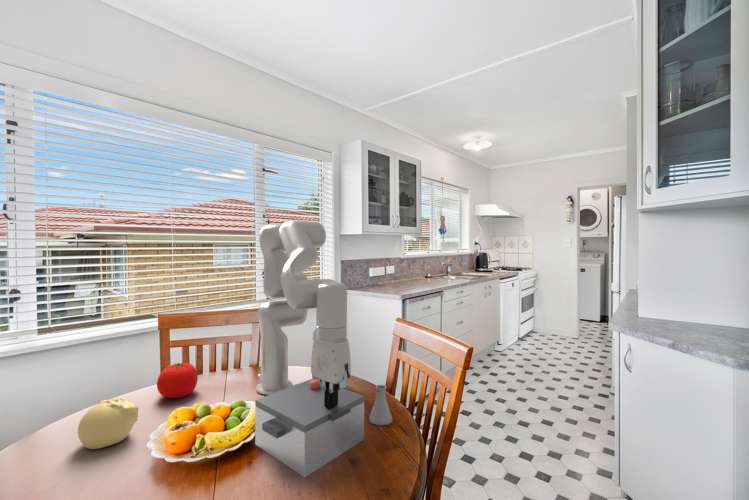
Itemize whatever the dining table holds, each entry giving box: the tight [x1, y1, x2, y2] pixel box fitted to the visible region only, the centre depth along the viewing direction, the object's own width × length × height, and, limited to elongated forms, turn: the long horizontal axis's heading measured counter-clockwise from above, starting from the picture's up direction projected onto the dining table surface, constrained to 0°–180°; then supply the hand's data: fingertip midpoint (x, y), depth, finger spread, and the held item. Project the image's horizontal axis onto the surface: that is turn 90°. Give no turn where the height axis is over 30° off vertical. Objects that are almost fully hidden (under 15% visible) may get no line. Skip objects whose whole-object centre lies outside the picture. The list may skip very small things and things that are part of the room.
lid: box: [254, 378, 365, 433], centre depth 90 cm, size 22×20×4 cm
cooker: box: [254, 401, 365, 478], centre depth 90 cm, size 20×25×10 cm
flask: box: [368, 384, 394, 426], centre depth 102 cm, size 7×7×10 cm
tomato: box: [156, 361, 199, 399], centre depth 118 cm, size 12×13×11 cm
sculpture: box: [77, 396, 139, 450], centre depth 90 cm, size 11×12×11 cm
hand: (331, 406), depth 85 cm, fingers closed
